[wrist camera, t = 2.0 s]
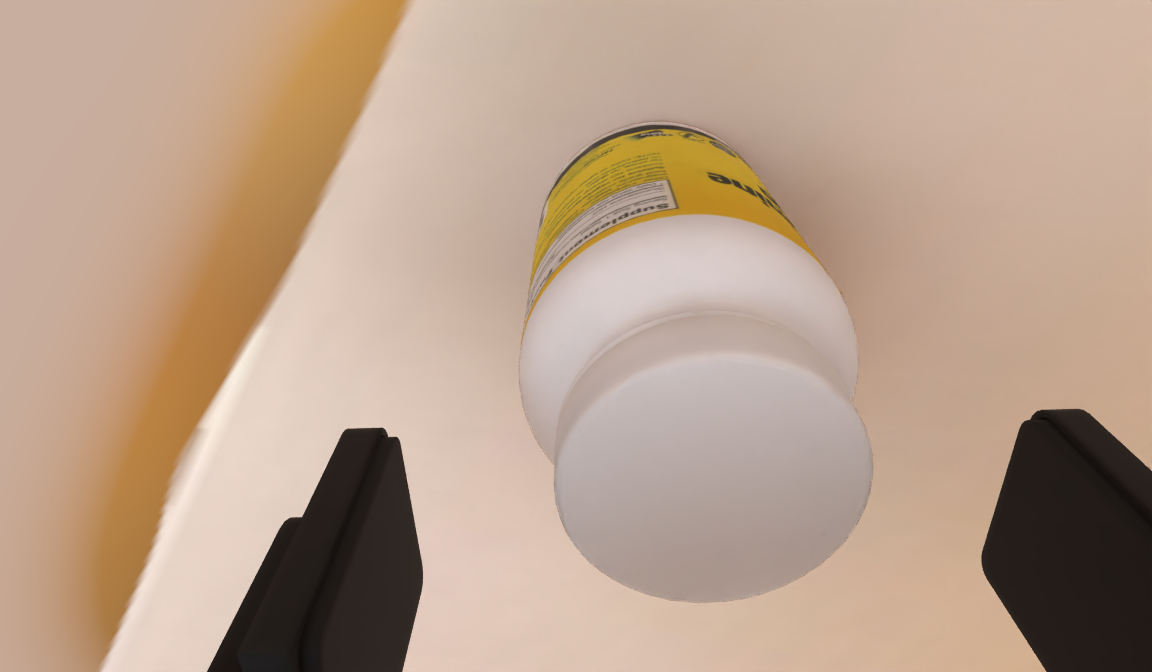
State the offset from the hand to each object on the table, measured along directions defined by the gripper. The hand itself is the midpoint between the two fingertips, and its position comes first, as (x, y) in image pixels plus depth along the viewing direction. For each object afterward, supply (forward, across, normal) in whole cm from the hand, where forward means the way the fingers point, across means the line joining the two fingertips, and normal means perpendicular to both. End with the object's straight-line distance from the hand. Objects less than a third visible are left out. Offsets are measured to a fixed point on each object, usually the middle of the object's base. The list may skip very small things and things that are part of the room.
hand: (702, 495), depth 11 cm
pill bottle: (+11, 0, 0) cm, 11 cm away
